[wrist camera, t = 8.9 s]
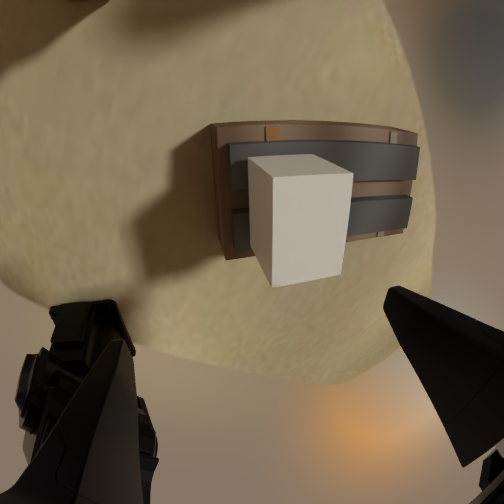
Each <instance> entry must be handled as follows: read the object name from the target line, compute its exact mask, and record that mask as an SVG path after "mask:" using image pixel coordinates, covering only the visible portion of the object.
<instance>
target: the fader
mask: <svg viewBox="0 0 504 504" xmlns="http://www.w3.org/2000/svg"><path fill="white" fill-rule="evenodd" d="M353 174H354V173H352V172H350V171H348V170H346V169H344V168H342V167H339V166H337V165H335V164H333V163H331V162H329V161H327V160H324V159H322V158H320V157H318V156H316V155H313V154H297V155H274V156H257V157H248V184H249V216H250V246H251V248H252V250H253V252H254V254H255V256H256V258H257V260H258V262H259V264H260V266H261V268H262V270H263V272H264V274H265V276H266V277H267V279H268V281H269V283H270V285H271V287H272V288H274V287H280V286H285V285H291V284H296V283H301V282H306V281H312V280H317V279H322V278H327V277H332V276H337V275H340V274H341V268H342V262H343V256H344V249H345V243H346V236H347V228H348V220H349V212H350V204H351V195H352V185H353Z"/></svg>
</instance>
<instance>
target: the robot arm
mask: <svg viewBox="0 0 504 504" xmlns="http://www.w3.org/2000/svg"><path fill="white" fill-rule="evenodd" d="M108 305H111V306H113V307H110V306H108ZM383 309H384V312H385V314H386V316H387V318H388V321H389V323H390V325H391V327H392V329H393V331H394V333H395V335H396V338H397V340H398V342H399V344H400V346H401V347H402V349H403V351H404V353H405V354H406V356H407V358H408V359H409V361H410V363H411V365H412V366H413V368H414V370H415V372H416V374H417V375H418V377H419V379H420V381H421V383H422V385H423V387H424V388H425V390H426V392H427V394H428V396H429V398H430V400H431V402H432V404H433V405H434V407H435V409H436V411H437V414H438V416H439V418H440V419H441V422H442V423H443V426H444V427H445V430H446V432H447V434H448V436H449V439H450V441H451V443H452V445H453V447H454V450H455V452H456V454H457V456H458V459H459V461H460V463H461V465H462V467H463V468H464V467H465V466H467V465H468V464H470V463H471V462H473V461H474V460H476V459H477V458H478V457H480V456H481V455H483V454H484V453H485V452H487V451H488V450H489V449H491V448H492V447H493V446H495V447H496V448H495V449H494V450H493V451H492V452H491V453H490V454H489V455H488V456H487V457H486V458H485V459H484V460H483V465H482V471H481V477H480V482H479V486H480V488H481V490H482V492H481V493H480V494H479V495H478V496H477V497H476V498H475V499H474V500H473V501H471V502H470V503H469V504H504V332H503V331H501V330H499V329H496V328H494V327H492V326H489V325H487V324H485V323H482V322H480V321H478V320H476V319H474V318H472V317H469V316H467V315H465V314H463V313H460V312H458V311H456V310H454V309H451V308H449V307H446V306H445V305H442V304H440V303H438V302H436V301H433V300H431V299H429V298H427V297H424V296H422V295H420V294H417V293H415V292H413V291H411V290H408V289H406V288H404V287H401V286H394V287H391V288H389V289H388V292H387V295H386V298H385V301H384V305H383ZM54 312H55V313H54ZM49 314H50V316H51V318H52V320H53V322H54V324H55V325H56V326H55V329H54V331H53V334H52V337H51V343H52V344H51V348H50V351H48V350H47V349H45V348H43V347H42V349H41V350H40V352H39V354H35V355H34V354H27V355H26V357H25V360H24V363H23V366H22V369H21V372H20V376H19V380H18V385H17V390H16V396H15V402H16V404H17V406H18V408H19V427H20V428H21V429H23V430H25V431H26V432H25V436H24V441H23V452H24V455H25V457H26V460H27V463H28V466H27V468H26V469H25V471H24V472H23V474H22V475H21V476H20V478H19V479H18V481H17V482H16V483H15V484H14V485H13V486H12V487H11V488H10V489H8V490H7V491H5V492H3V493H1V494H0V504H150V489H151V481H152V477H153V474H154V471H155V468H156V466H157V464H158V462H159V459H158V458H157V457H156V456H157V449H158V443H157V437H156V432H155V430H154V428H153V425H152V423H151V420H150V417H149V414H148V411H147V408H146V404H145V401H144V399H143V398H141V397H139V396H137V394H136V385H135V373H134V362H133V356H135V354H136V350H135V347H134V345H133V343H132V341H131V338H130V336H129V334H128V331H127V329H126V326H125V324H124V322H123V319H122V317H121V314H120V312H119V309H118V306H117V304H116V302H115V301H113V300H102V301H94V302H84V303H75V304H67V305H61V306H53V307H51V308H50V310H49Z"/></svg>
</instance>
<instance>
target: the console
mask: <svg viewBox="0 0 504 504" xmlns="http://www.w3.org/2000/svg"><path fill="white" fill-rule="evenodd" d="M211 138H212V154H213V169H214V183H215V197H216V209H217V221H218V233H219V240H220V243H221V246H222V249H223V253H224V256H225V259H226V260H231V259H238V258H244V257H251V256H255V254H254V252H253V250H252V248H251V246H250V216H249V184H248V157H257V156H274V155H297V154H313V155H316V156H318V157H320V158H322V159H324V160H327V161H329V162H331V163H333V164H335V165H337V166H339V167H342V168H344V169H346V170H348V171H350V172H352V173H354V174H353V185H352V195H351V204H350V212H349V220H348V228H347V236H346V242H349V241H356V240H362V239H368V238H375V237H381V236H388V235H394V234H400V233H403V230H404V228H407V225H408V220H409V215H410V210H411V205H412V199H413V198H412V197H410V193H411V187H412V180H416V174H417V167H418V159H419V150H420V147H417V138H418V134H417V133H414V132H410V131H406V130H402V129H398V128H394V127H388V126H380V125H370V124H360V123H347V122H330V121H296V120H279V121H245V122H228V123H215V124H211Z"/></svg>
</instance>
